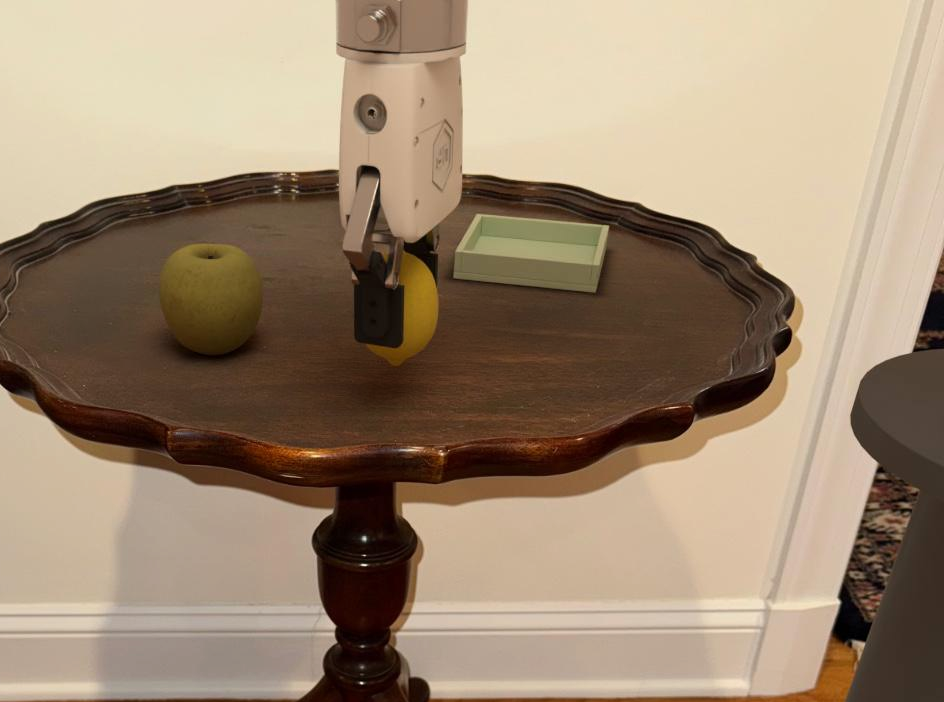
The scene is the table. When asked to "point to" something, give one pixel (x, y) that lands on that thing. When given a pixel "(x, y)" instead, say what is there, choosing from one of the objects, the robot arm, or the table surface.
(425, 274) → the lemon
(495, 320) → the table surface
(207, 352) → the apple
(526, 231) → the dish
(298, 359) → the table surface
